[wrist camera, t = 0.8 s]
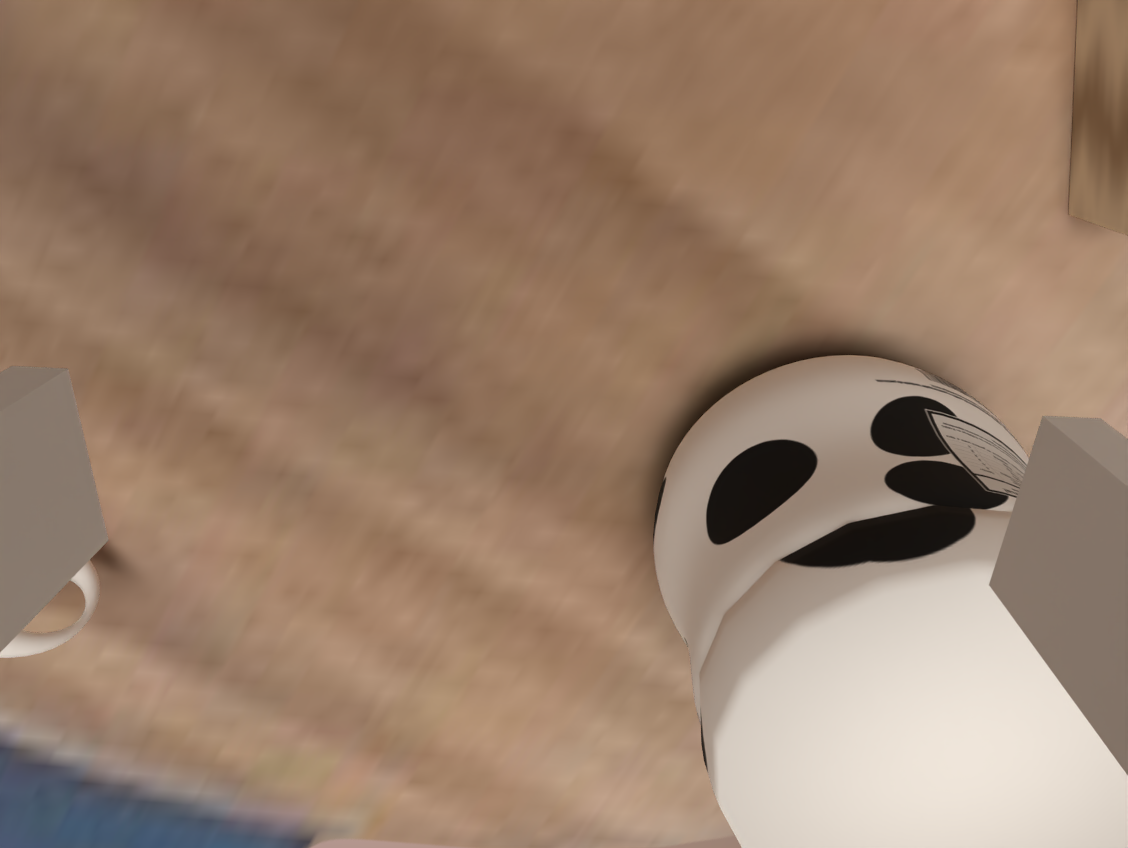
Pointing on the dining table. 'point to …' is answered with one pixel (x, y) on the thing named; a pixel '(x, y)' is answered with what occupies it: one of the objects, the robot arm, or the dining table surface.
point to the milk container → (869, 622)
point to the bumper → (1100, 115)
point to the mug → (42, 642)
